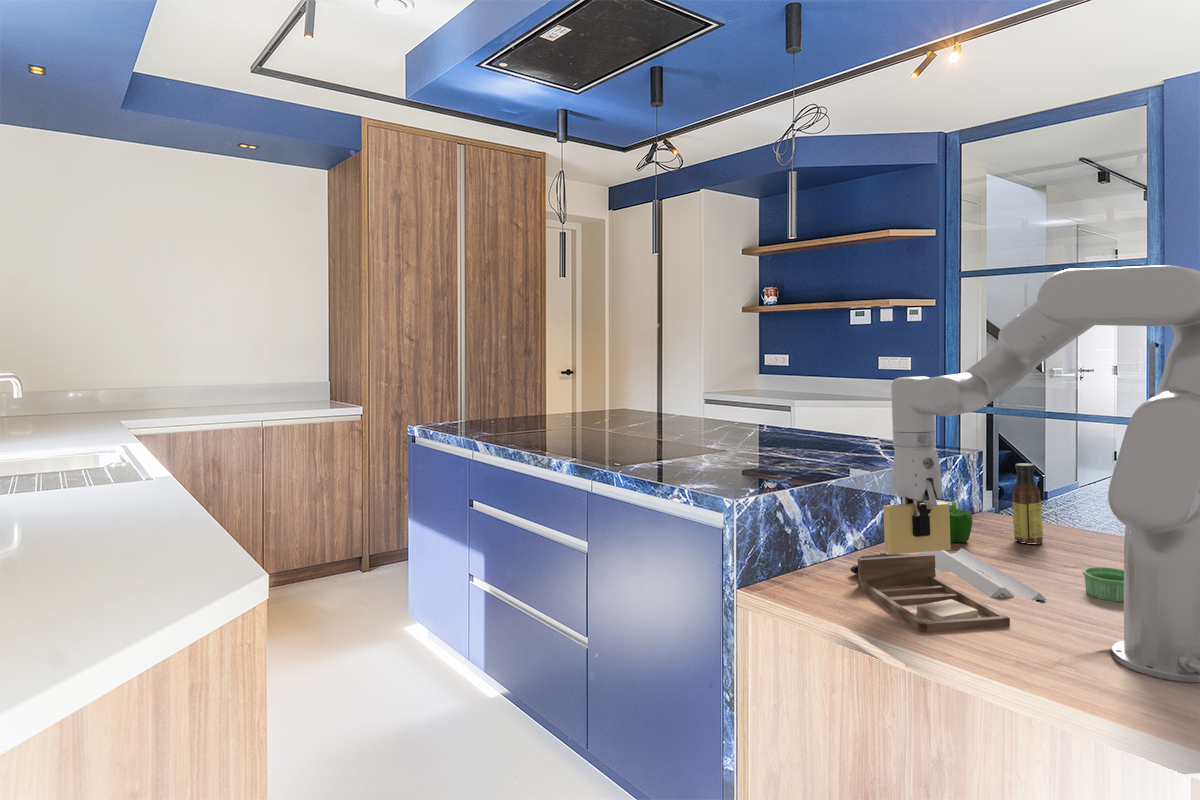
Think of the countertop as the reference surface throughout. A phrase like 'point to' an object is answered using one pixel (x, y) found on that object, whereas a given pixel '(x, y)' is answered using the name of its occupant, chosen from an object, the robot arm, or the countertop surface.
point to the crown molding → (981, 575)
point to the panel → (901, 529)
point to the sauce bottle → (1027, 506)
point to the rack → (920, 591)
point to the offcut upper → (946, 610)
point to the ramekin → (1105, 583)
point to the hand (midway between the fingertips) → (917, 533)
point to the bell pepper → (959, 524)
